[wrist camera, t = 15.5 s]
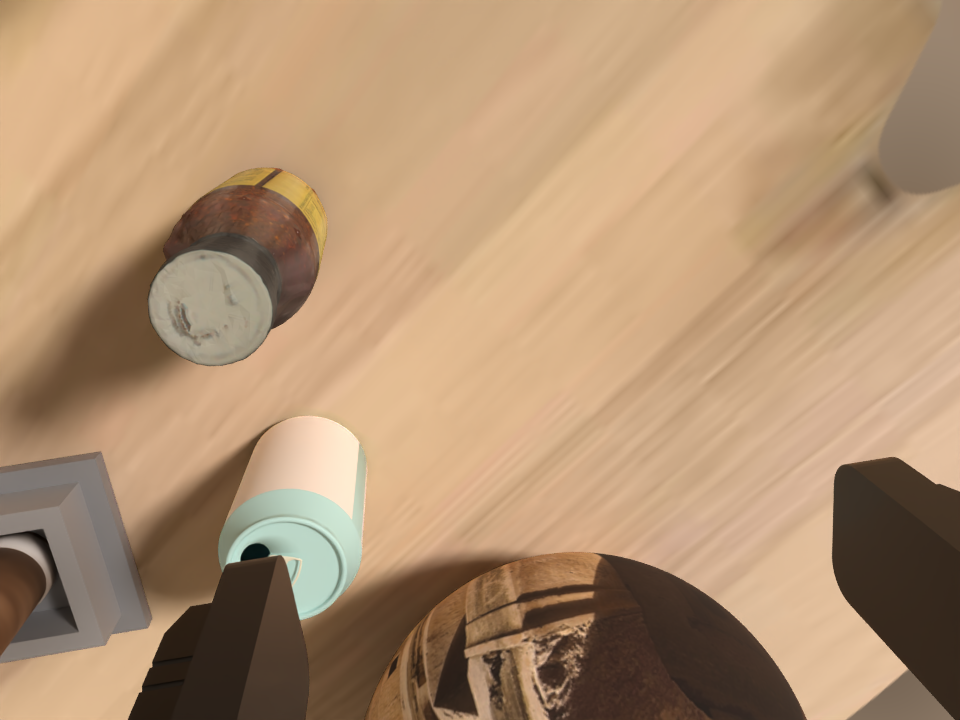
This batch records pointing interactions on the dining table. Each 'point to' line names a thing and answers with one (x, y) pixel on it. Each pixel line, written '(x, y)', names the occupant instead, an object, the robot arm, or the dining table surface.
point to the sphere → (581, 650)
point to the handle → (22, 580)
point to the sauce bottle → (238, 266)
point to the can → (302, 508)
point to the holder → (73, 555)
